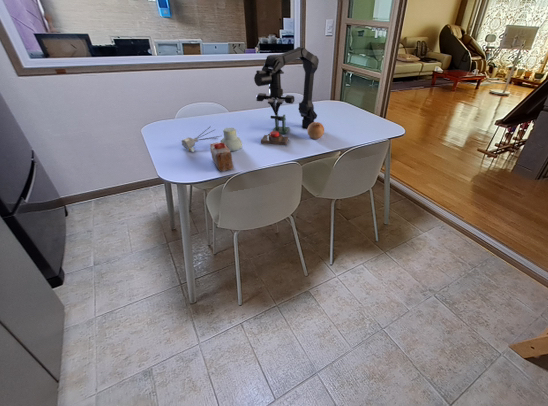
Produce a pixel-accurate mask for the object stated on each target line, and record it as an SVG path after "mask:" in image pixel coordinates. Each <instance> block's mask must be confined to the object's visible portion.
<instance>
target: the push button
mask: <svg viewBox="0 0 548 406" xmlns="http://www.w3.org/2000/svg"><path fill="white" fill-rule="evenodd" d="M269 134H270V135H271V136H272V137H278V136H279V132H277V131H273V130H272V131H270V132H269Z"/></svg>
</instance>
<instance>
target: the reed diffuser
mask: <svg viewBox="0 0 548 406" xmlns="http://www.w3.org/2000/svg"><path fill="white" fill-rule="evenodd" d="M211 128H212V127H211V126H209V127H207V129H205V130H204V131H202V133H200V134H199V135H198V136H197V137H194V138H192V137H190V136H189V137H186V138H184V139H182V140H181V146H182V147H183V148H184V149H186V150H188V151H189V152H191V153H194V152H195V145H196V143H197V142H199V141H204V140H214V139H215V140H216V138H219V137H221V135H217V136H216V137H215V136H212V137H206V138H201V137H204V136H206V135H208V134H210V133H213V132H214V131H215V129H213V130H211V131H209V132H207V131H208V130H209V129H211ZM205 132H207V133H205Z"/></svg>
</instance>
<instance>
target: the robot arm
mask: <svg viewBox="0 0 548 406" xmlns="http://www.w3.org/2000/svg"><path fill="white" fill-rule="evenodd" d="M298 59H299V60H300V61H301V62H302V68H303V70H304V83H303V93H302V94H303V96H302V100H301V102H298V109H297V110H298V112H299V114H300V117H301V118H302V120H301V127H302V129H304V130H307V129H308V126H309V125H310V124H311V123H313V122H315V120H316V119H317V117H318V114H317V113H316V111H315V107H314V103H313V89H314V80H315V73H316V72H317V70H318V67H319V61H320V59H319V57H318V56H317V55H315V54H313V53H312V52H311V51H309V50H308V49H307V48H305V47H301V46H297V47H296V48H293V49H291V50H288V51H286V52H284V53H280V54H269V55H267V56H266V59H265V61H264V64H263V65H262V68H261V70H259V69H257V70H256V71H255V72H256V73H255V74H254V77H253V80H254V81H253V82H254V83H255V85H256V86H257V87H264V86H268V92H269V95H267V93H265V92H259V93H257V95H256V97H255V99H256V100H255V101H256V102H264V100H267V104H269V106H270V107H271V109H272V111H273V113H274V116H275V115H277V114H278V115H279V111H280V108H281V105H283V104H284V102H285V104H291V105H293V104H294V103H295V95H289V94H286V96H284V89H283V88H282V82H281V79H282V78H281V75H283V74H285V72H284V70H283V69H282V68H284V67H285V65H286V64H287V63H290V62H293V61H295V60H298Z"/></svg>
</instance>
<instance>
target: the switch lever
mask: <svg viewBox="0 0 548 406" xmlns="http://www.w3.org/2000/svg"><path fill="white" fill-rule="evenodd" d="M282 116H283V115H281V116H280V115H278V116H275V115H270V119H272V120H273V119H274V120H275V119H278V121H279V122H282Z"/></svg>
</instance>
